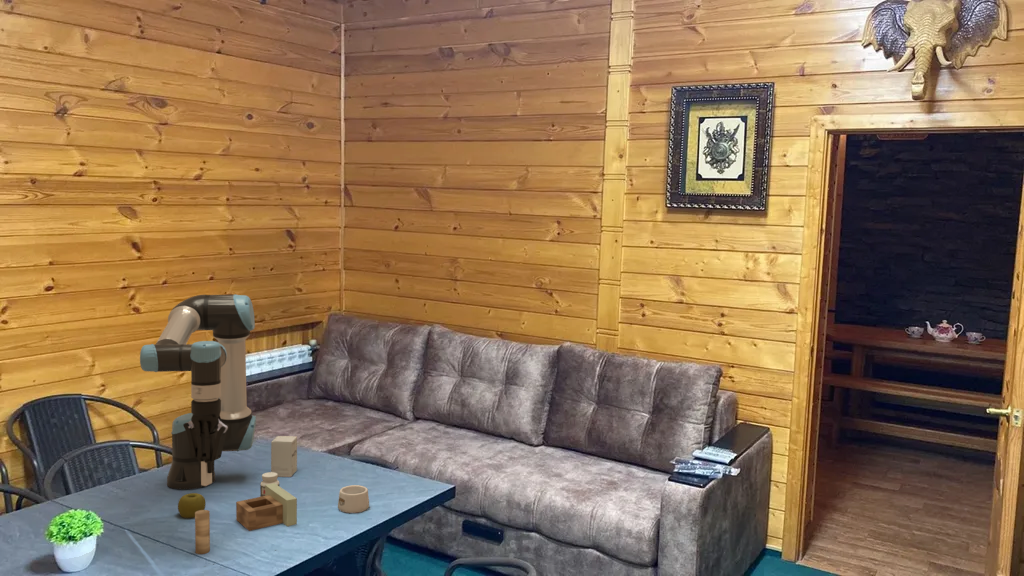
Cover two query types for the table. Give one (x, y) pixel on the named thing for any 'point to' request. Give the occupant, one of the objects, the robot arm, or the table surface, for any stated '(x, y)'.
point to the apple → (191, 505)
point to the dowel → (202, 532)
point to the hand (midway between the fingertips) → (206, 484)
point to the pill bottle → (268, 481)
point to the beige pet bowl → (353, 499)
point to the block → (259, 512)
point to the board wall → (284, 503)
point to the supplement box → (284, 455)
